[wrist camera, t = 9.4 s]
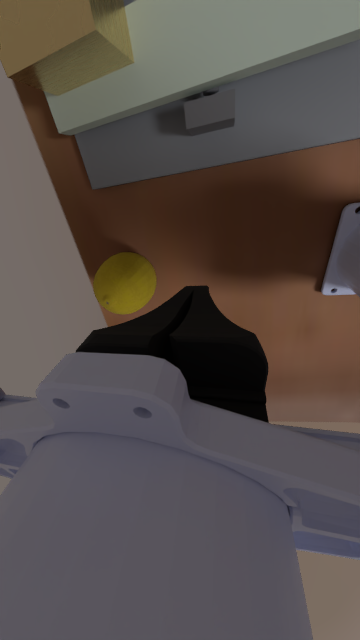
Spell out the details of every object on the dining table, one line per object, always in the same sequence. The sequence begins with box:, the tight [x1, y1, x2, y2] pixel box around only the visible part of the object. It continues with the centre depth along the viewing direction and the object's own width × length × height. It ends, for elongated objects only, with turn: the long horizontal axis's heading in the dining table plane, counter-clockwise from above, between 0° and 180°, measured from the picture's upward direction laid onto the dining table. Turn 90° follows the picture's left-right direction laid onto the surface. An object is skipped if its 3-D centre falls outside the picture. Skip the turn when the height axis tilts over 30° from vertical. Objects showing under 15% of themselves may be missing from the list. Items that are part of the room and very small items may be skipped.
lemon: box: [93, 252, 156, 314], centre depth 20 cm, size 6×6×8 cm
